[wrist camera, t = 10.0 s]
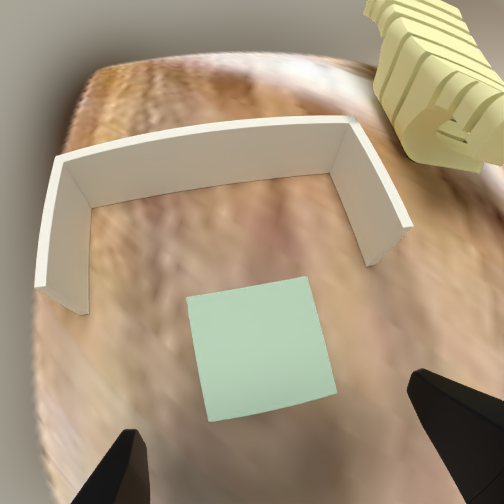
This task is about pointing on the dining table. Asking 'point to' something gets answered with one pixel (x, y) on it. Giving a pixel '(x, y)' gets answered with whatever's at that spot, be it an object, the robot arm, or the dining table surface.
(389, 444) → the dining table surface
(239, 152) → the cream u-shaped wall
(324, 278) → the dining table surface
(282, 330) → the block
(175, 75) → the dining table surface
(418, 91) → the slatted curved stool
